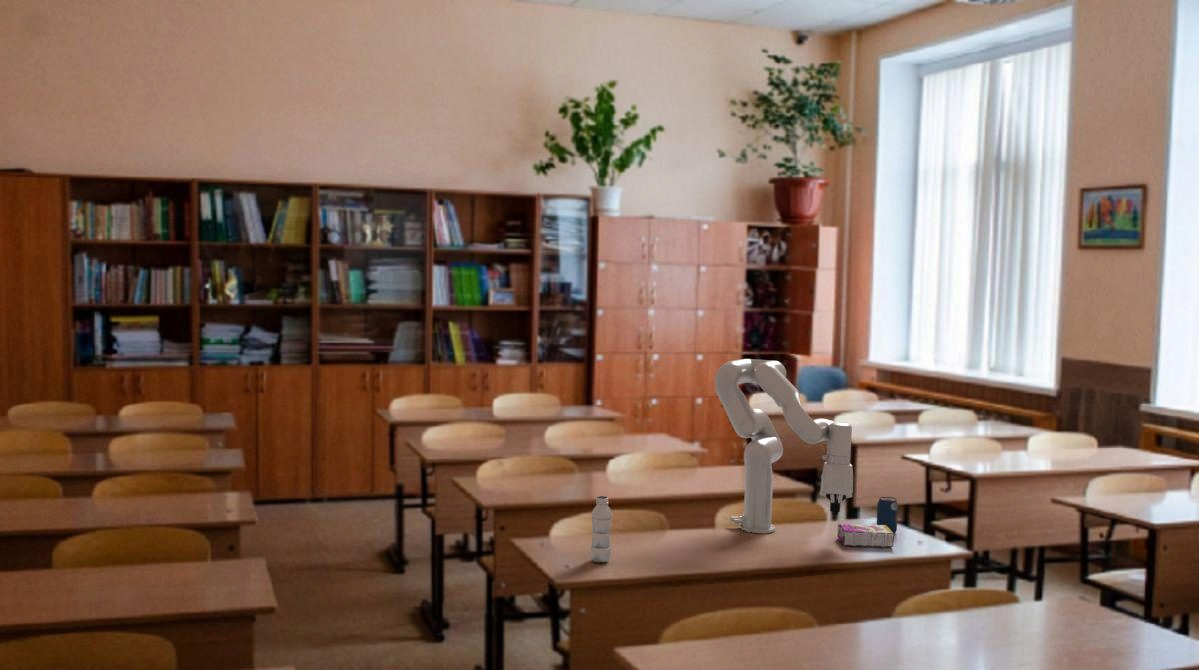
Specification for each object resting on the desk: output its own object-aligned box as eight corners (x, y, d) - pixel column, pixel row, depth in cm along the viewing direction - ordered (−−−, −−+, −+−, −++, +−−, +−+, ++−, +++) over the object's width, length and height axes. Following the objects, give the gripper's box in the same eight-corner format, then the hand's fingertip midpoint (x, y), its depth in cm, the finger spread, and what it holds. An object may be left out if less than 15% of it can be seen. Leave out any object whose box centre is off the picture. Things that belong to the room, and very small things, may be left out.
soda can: (900, 534, 369) (902, 500, 369) (882, 535, 368) (884, 501, 367) (889, 529, 376) (891, 496, 375) (872, 530, 374) (874, 496, 373)
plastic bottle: (585, 562, 326) (587, 498, 324) (596, 557, 332) (598, 493, 330) (604, 566, 323) (606, 501, 321) (614, 560, 329) (616, 496, 327)
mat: (845, 545, 353) (845, 544, 353) (839, 536, 365) (839, 535, 365) (891, 547, 353) (891, 546, 352) (883, 538, 364) (883, 537, 364)
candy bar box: (837, 522, 362) (886, 524, 362) (836, 537, 363) (885, 539, 362) (844, 530, 351) (894, 533, 351) (843, 545, 351) (893, 548, 351)
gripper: (817, 460, 351) (813, 515, 353) (863, 463, 351) (859, 518, 353) (813, 456, 359) (810, 509, 361) (858, 458, 358) (854, 512, 360)
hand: (834, 513), depth 357 cm, fingers closed
